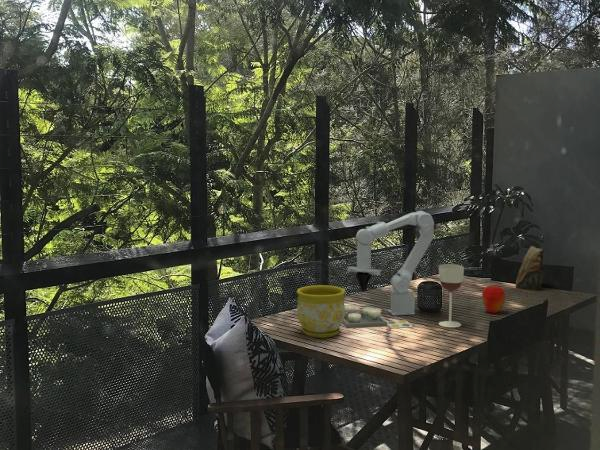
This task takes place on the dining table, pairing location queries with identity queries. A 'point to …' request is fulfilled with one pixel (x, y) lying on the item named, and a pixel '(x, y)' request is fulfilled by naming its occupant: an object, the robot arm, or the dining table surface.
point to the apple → (493, 298)
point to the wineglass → (450, 286)
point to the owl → (531, 270)
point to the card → (398, 324)
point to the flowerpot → (321, 310)
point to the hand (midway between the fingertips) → (363, 290)
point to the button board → (364, 321)
